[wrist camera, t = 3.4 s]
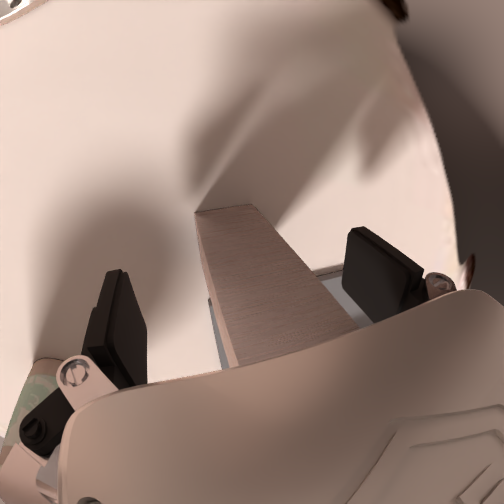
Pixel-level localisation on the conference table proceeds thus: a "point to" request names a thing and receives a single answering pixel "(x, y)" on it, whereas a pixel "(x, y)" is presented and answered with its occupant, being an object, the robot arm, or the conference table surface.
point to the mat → (333, 286)
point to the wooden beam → (262, 288)
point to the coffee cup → (30, 399)
